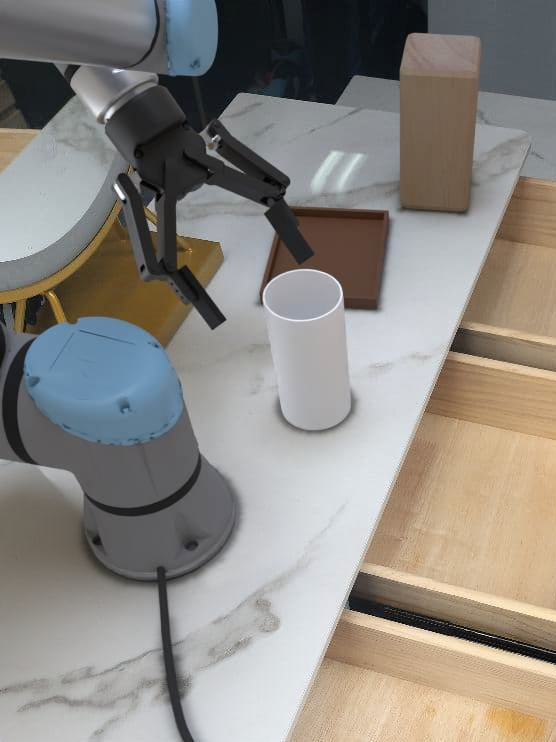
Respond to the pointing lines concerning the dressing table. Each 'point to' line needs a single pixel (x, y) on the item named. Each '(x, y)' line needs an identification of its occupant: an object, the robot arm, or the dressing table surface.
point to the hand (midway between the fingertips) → (265, 291)
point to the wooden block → (438, 120)
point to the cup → (309, 347)
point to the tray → (338, 250)
